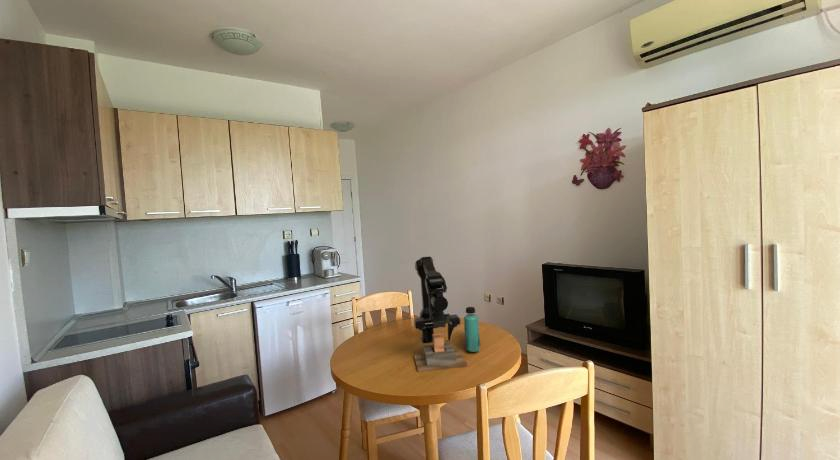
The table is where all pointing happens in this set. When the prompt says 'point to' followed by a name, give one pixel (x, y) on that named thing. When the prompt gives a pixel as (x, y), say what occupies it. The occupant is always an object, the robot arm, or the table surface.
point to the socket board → (428, 368)
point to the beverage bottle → (471, 330)
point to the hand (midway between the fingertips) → (438, 341)
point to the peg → (438, 342)
